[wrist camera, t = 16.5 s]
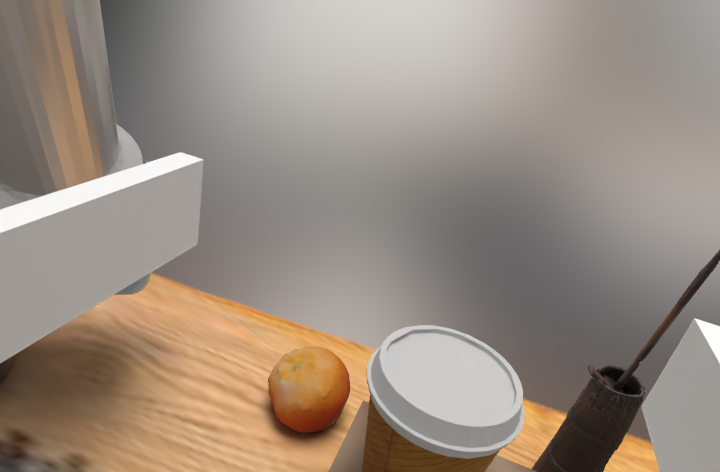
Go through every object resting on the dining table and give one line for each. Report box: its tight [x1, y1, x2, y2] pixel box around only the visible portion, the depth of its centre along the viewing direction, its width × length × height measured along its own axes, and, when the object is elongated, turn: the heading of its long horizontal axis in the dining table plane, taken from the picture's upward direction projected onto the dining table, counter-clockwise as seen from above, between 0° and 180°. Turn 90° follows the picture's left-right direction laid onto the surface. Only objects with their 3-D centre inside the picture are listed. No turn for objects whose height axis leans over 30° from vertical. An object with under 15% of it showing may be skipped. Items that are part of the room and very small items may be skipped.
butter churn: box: [531, 250, 720, 472], centre depth 42 cm, size 9×10×28 cm
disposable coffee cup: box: [362, 325, 524, 472], centre depth 32 cm, size 10×10×12 cm
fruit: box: [268, 347, 350, 433], centre depth 49 cm, size 8×8×8 cm
